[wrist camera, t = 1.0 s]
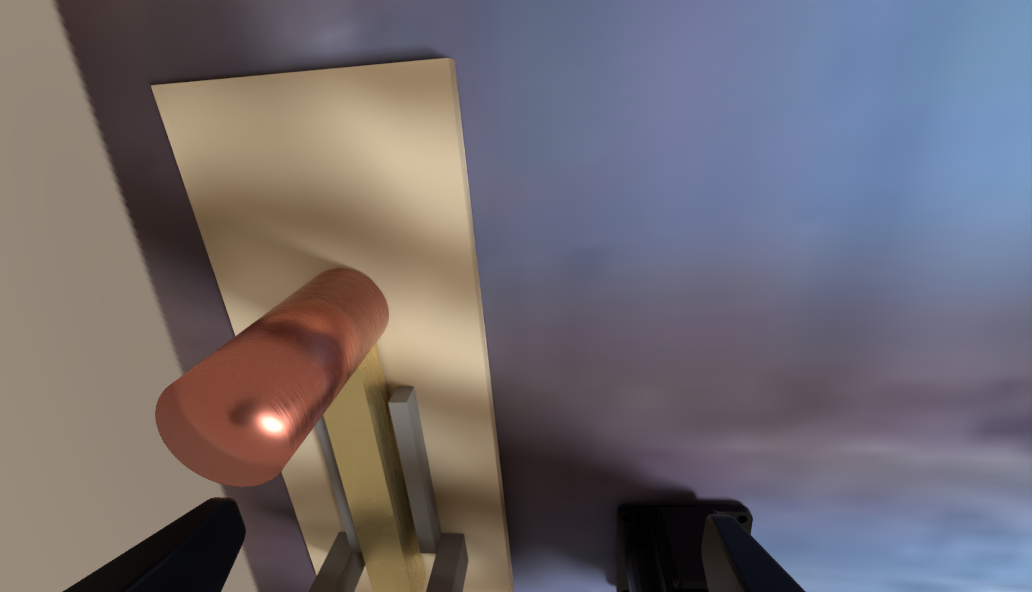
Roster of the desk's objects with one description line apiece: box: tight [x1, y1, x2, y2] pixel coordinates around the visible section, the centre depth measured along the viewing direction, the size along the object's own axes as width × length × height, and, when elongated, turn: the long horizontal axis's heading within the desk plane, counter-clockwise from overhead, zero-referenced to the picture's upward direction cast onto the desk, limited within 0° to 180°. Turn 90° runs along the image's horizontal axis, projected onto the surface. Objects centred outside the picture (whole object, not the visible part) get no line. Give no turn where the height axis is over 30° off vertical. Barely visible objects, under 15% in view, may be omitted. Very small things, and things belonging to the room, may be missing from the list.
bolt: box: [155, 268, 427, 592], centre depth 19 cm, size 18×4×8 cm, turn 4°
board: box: [151, 58, 514, 592], centre depth 19 cm, size 27×11×7 cm, turn 4°
